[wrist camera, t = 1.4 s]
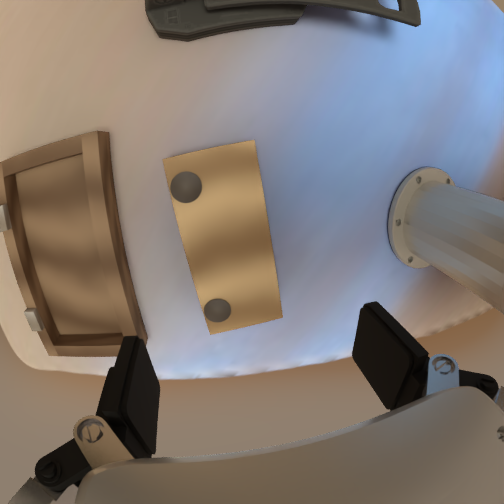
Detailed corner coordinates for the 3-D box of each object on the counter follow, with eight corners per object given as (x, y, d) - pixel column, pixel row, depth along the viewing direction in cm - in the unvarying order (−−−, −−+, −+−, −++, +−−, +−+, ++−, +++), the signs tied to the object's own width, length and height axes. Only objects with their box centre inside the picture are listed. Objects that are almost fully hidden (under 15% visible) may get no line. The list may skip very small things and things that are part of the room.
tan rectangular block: (168, 158, 23) (162, 159, 19) (246, 141, 24) (254, 139, 20) (208, 312, 29) (210, 335, 25) (273, 296, 30) (283, 318, 26)
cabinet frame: (8, 162, 19) (-13, 166, 15) (108, 132, 21) (93, 130, 17) (57, 340, 27) (46, 359, 23) (147, 337, 28) (143, 360, 25)
